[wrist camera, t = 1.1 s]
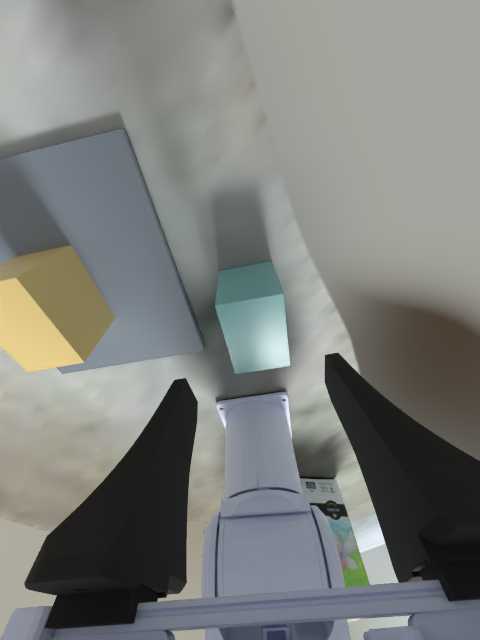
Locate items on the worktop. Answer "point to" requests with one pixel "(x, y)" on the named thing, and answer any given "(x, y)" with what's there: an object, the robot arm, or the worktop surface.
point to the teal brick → (253, 317)
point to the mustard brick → (50, 310)
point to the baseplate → (101, 241)
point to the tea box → (338, 527)
